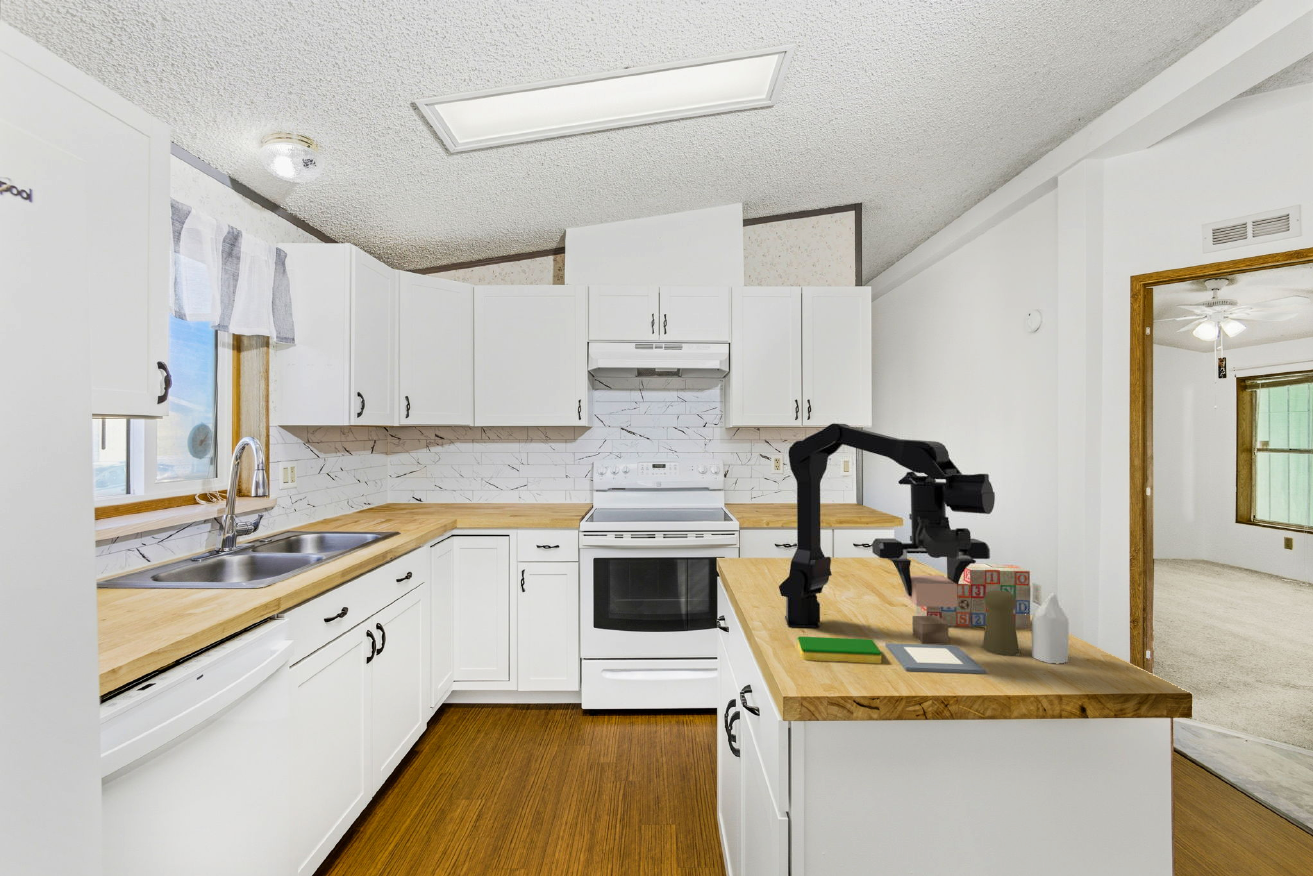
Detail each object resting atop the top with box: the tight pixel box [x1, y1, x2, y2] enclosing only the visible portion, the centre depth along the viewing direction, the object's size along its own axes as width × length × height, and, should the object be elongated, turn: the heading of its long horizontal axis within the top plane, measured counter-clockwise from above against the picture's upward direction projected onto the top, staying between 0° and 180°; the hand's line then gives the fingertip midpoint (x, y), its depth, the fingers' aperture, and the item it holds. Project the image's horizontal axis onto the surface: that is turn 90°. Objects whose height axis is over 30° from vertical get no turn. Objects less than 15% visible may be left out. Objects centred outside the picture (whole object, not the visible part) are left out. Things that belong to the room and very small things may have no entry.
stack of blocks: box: [915, 563, 1031, 629], centre depth 125 cm, size 21×6×12 cm, turn 85°
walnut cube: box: [911, 615, 950, 645], centre depth 114 cm, size 5×5×4 cm
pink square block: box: [904, 574, 957, 607], centre depth 104 cm, size 7×7×4 cm
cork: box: [982, 590, 1020, 657], centre depth 108 cm, size 6×6×11 cm
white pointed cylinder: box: [1031, 592, 1070, 665], centre depth 104 cm, size 6×12×6 cm
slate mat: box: [885, 642, 987, 675], centre depth 104 cm, size 13×12×1 cm
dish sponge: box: [797, 636, 882, 664], centre depth 106 cm, size 7×14×2 cm, turn 82°
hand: (930, 596), depth 104 cm, fingers closed on pink square block, 7 cm apart
